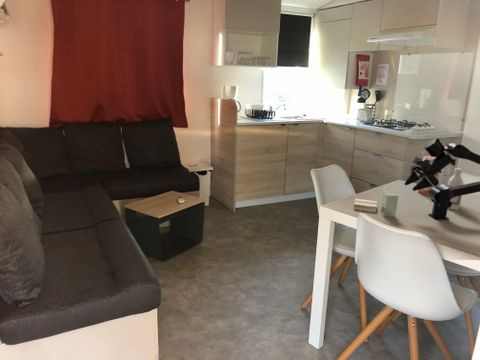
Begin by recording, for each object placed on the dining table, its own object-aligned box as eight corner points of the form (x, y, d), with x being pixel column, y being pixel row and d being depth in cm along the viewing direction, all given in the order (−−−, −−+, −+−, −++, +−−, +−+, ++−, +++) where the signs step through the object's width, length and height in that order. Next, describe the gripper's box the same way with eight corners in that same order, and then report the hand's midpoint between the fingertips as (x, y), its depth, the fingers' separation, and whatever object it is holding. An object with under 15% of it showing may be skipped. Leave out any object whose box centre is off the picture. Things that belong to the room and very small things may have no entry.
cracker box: (417, 192, 225) (422, 155, 220) (424, 191, 227) (430, 155, 222) (438, 199, 213) (445, 161, 207) (446, 198, 215) (453, 160, 210)
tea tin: (395, 217, 182) (398, 195, 179) (384, 216, 182) (387, 195, 180) (391, 213, 187) (394, 192, 184) (380, 213, 187) (383, 192, 184)
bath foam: (443, 208, 198) (450, 168, 193) (444, 204, 204) (450, 166, 199) (459, 211, 195) (466, 170, 190) (459, 207, 201) (466, 168, 196)
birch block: (375, 213, 188) (376, 207, 187) (353, 210, 191) (354, 204, 190) (375, 207, 197) (376, 201, 196) (354, 204, 200) (355, 198, 199)
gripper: (418, 147, 186) (390, 169, 189) (436, 155, 168) (405, 179, 170) (432, 165, 188) (405, 186, 190) (451, 174, 169) (421, 198, 172)
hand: (408, 187), depth 181 cm, fingers open, 9 cm apart
